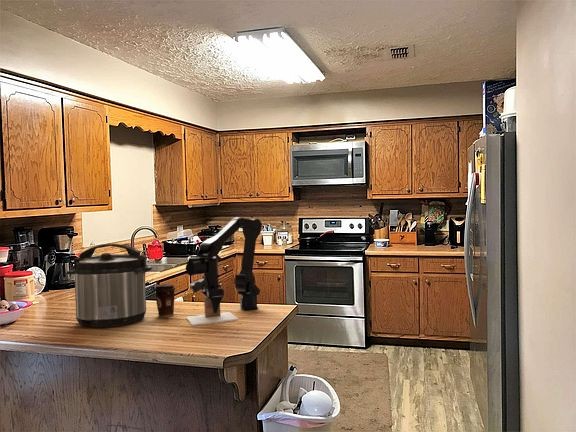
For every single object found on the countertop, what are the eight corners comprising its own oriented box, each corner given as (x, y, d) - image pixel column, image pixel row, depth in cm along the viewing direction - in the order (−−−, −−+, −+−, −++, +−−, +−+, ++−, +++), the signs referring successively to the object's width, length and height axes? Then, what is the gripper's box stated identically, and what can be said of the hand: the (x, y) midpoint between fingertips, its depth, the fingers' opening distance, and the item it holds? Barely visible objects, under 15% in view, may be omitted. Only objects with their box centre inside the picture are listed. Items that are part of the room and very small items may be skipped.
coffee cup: (155, 318, 197) (153, 287, 196) (155, 314, 205) (153, 284, 204) (176, 316, 199) (175, 285, 199) (176, 312, 207) (174, 282, 207)
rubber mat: (229, 313, 201) (229, 311, 201) (237, 320, 188) (237, 318, 188) (186, 318, 195) (186, 316, 195) (191, 326, 182) (191, 324, 182)
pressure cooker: (165, 315, 203) (161, 240, 202) (116, 332, 177) (112, 247, 176) (111, 311, 215) (108, 241, 214) (58, 327, 189) (54, 247, 188)
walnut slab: (219, 315, 196) (218, 295, 196) (220, 316, 194) (219, 296, 194) (204, 316, 194) (204, 297, 193) (205, 317, 192) (204, 297, 192)
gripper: (187, 271, 199) (189, 308, 200) (195, 277, 182) (196, 317, 182) (213, 269, 203) (215, 305, 204) (223, 274, 186) (225, 314, 186)
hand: (212, 310), depth 194 cm, fingers open, 9 cm apart
